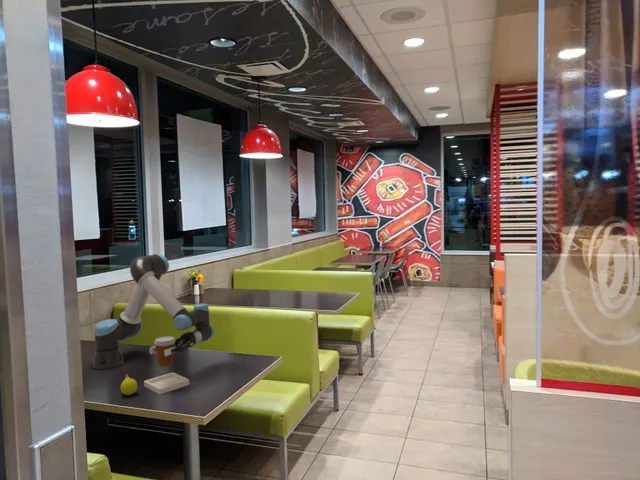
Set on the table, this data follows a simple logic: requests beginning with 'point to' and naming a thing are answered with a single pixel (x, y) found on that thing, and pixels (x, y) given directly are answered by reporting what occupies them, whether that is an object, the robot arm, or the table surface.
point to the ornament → (128, 386)
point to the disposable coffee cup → (162, 345)
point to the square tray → (166, 383)
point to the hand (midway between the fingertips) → (157, 352)
